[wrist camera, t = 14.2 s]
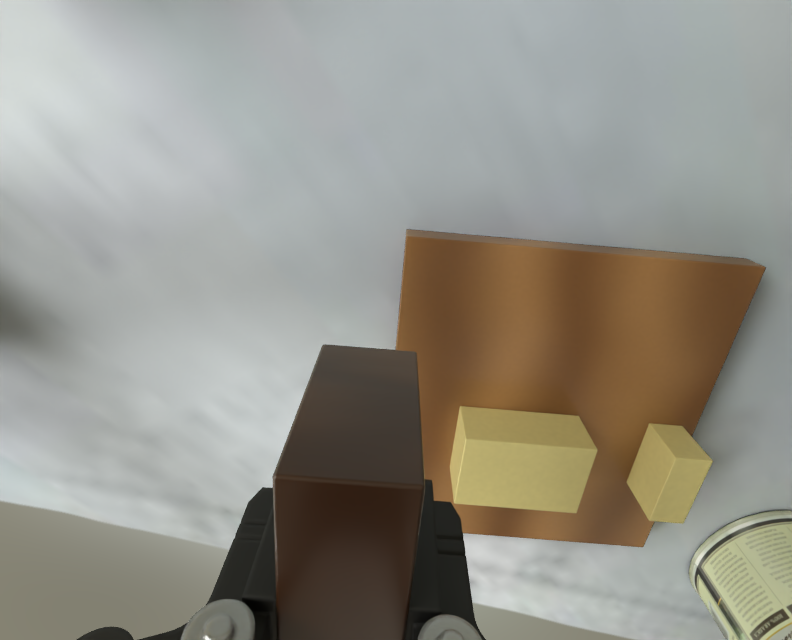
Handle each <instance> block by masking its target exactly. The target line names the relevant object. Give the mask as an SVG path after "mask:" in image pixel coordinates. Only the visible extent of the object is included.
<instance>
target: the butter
mask: <svg viewBox="0 0 792 640" xmlns="http://www.w3.org/2000/svg"><path fill="white" fill-rule="evenodd" d="M596 454H597V448H596V446H595V444H594V443H593V441H592V439H591V437H590V435H589V434H588V432H587V430H586V428H585V426H584V425H583V423H582V421H581V419H580V417H579V416H574V415H562V414H550V413H538V412H526V411H514V410H502V409H489V408H477V407H465V406H460V408H459V414H458V420H457V426H456V432H455V438H454V444H453V450H452V456H451V462H450V473H451V482H452V490H453V499H454V503H455V504H466V505H478V506H491V507H504V508H516V509H529V510H541V511H554V512H566V513H577V510H578V507H579V504H580V501H581V498H582V495H583V492H584V489H585V486H586V483H587V480H588V477H589V474H590V471H591V468H592V465H593V462H594V460H595V457H596Z"/></svg>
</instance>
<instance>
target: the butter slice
mask: <svg viewBox="0 0 792 640" xmlns="http://www.w3.org/2000/svg"><path fill="white" fill-rule="evenodd" d="M712 462H713V461H712V459H711V458H710V457H709V456H708V455H707V454H706V453H705V451H704V450H703V449H702V448H701V447H700V446H699V445H698V443H697V442H696V441H695V440H694V439H693V438H692V436H691V435H690V434H689V433H688V432H687V431H686V430H685V428H684V427H683V426H677V425H665V424H653V423H649V425H648V428H647V430H646V433H645V435H644V438H643V441H642V443H641V446H640V448H639V451H638V453H637V456H636V459H635V461H634V464H633V466H632V469H631V472H630V474H629V477H628V479H627V484H628V486H629V487H630V489H631V491H632V493H633V494H634V496H635V498H636V499H637V501H638V503H639V504H640V506H641V508H642V510H643V511H644V513H645V515H646V516H647V518H648V520H649V521H658V522H671V523H684V521H685V519H686V517H687V515H688V513H689V510H690V508H691V506H692V504H693V502H694V500H695V498H696V496H697V494H698V492H699V490H700V487H701V485H702V483H703V481H704V479H705V477H706V475H707V473H708V471H709V469H710V467H711V464H712Z"/></svg>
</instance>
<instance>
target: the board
mask: <svg viewBox="0 0 792 640" xmlns="http://www.w3.org/2000/svg"><path fill="white" fill-rule="evenodd" d="M765 269H766V267H764V266H762V265H760V264H757V263H755V262H753V261H750V260H748V259H744V258H733V257H721V256H710V255H698V254H687V253H675V252H663V251H652V250H640V249H629V248H617V247H606V246H594V245H583V244H571V243H560V242H548V241H536V240H525V239H513V238H502V237H490V236H479V235H467V234H456V233H444V232H433V231H421V230H409V229H407V230H406V240H405V251H404V262H403V273H402V284H401V295H400V306H399V316H398V327H397V338H396V349H395V350H401V351H413V352H416V353H417V361H418V377H419V394H420V410H421V426H422V442H423V459H424V475H425V479H428V480H432V483H433V496H434V501H446V502H451V503H452V505H453V506H454V508H455V510H456V511H457V513H458V515H459V516H460V518H461V524H462V531H463V533H469V534H482V535H495V536H507V537H520V538H532V539H545V540H558V541H570V542H583V543H596V544H608V545H621V546H633V547H643V546H644V544H645V542H646V540H647V537H648V535H649V533H650V530H651V528H652V526H653V524H654V521H649V520H648V518H647V516H646V515H645V513H644V511H643V510H642V508H641V506H640V504H639V503H638V501H637V499H636V498H635V496H634V494H633V493H632V491H631V489H630V487H629V486H628V484H627V479H628V477H629V474H630V472H631V469H632V466H633V464H634V461H635V459H636V456H637V453H638V451H639V448H640V446H641V443H642V441H643V438H644V435H645V433H646V430H647V428H648V425H649V423H653V424H665V425H677V426H683V427H684V428H685V430H686V431H687V432H688V433H689V434H690V435H691V436H692V435H693V433H694V430H695V428H696V426H697V423H698V421H699V419H700V417H701V414H702V412H703V410H704V407H705V405H706V403H707V401H708V398H709V396H710V394H711V392H712V389H713V387H714V385H715V382H716V380H717V378H718V376H719V373H720V371H721V369H722V367H723V364H724V362H725V360H726V357H727V355H728V353H729V351H730V348H731V346H732V344H733V341H734V339H735V337H736V335H737V332H738V330H739V328H740V326H741V323H742V321H743V319H744V316H745V314H746V312H747V310H748V307H749V305H750V303H751V300H752V298H753V296H754V294H755V291H756V289H757V287H758V285H759V282H760V280H761V278H762V275H763V273H764V271H765ZM460 406H465V407H477V408H489V409H502V410H514V411H526V412H538V413H550V414H562V415H574V416H579V417H580V419H581V421H582V423H583V425H584V426H585V428H586V430H587V432H588V434H589V435H590V437H591V439H592V441H593V443H594V444H595V446H596V448H597V454H596V457H595V460H594V462H593V465H592V468H591V471H590V474H589V477H588V480H587V483H586V486H585V489H584V492H583V495H582V498H581V501H580V504H579V507H578V510H577V513H566V512H554V511H541V510H529V509H516V508H504V507H491V506H478V505H466V504H455V503H454V499H453V490H452V482H451V473H450V462H451V456H452V450H453V444H454V438H455V432H456V426H457V420H458V414H459V408H460Z"/></svg>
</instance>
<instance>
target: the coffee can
mask: <svg viewBox="0 0 792 640" xmlns="http://www.w3.org/2000/svg"><path fill="white" fill-rule="evenodd" d="M689 576H690V581H691V583H692V586H693V588H694V589H695V591H696V592H697V593H698V594H699V596H700V597H701V599H702V600H703V602H704V604H705V605H706V607H707V609H708V610H709V612H710V613H711V615H712V617H713V618H714V620H715V622H716V623H717V625H718V627H719V628H720V630H721V632H722V633H723V635H724V637H725V638H726V640H792V511H770V512H762V513H759V514H756V515H751V516H747V517H744V518H741V519H739V520H737V521H734V522H732V523H730V524H728V525H727V526H725V527H723V528H721V529H720V530H718V531H717V532H716V533H714V534H713V535H711V536H710V537H709V538H708V539H707V540H706V541H705V542H704V543H703V544H702V545H701V546H700V547H699V549H698V550H697V551H696V552H695V554H694V556H693V559H692V561H691V564H690V568H689Z"/></svg>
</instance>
